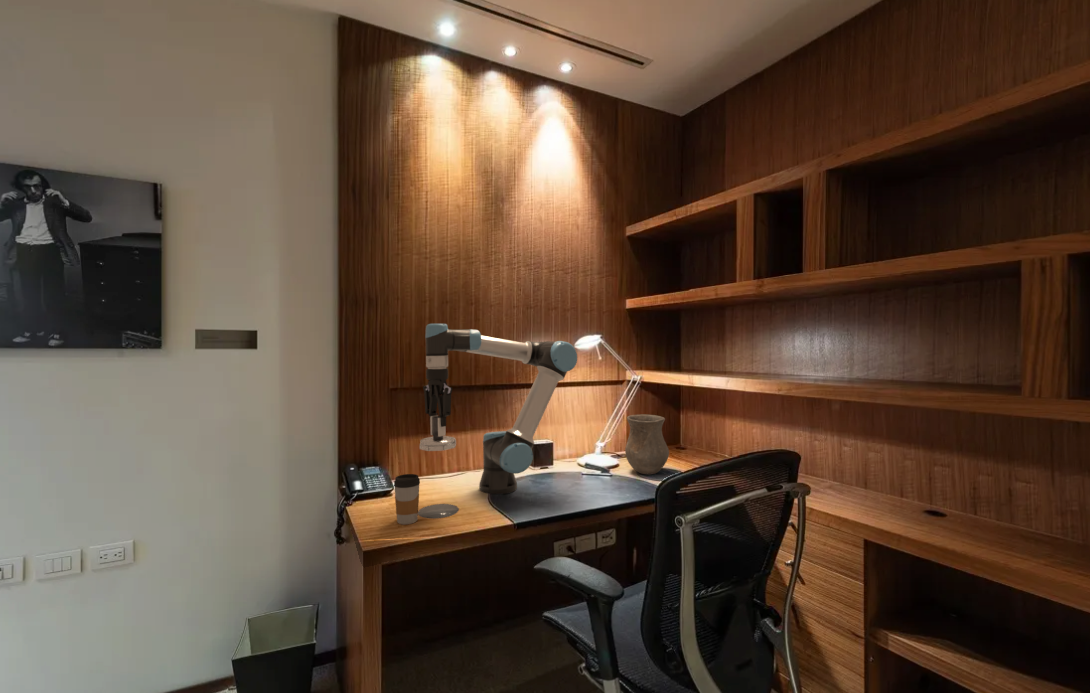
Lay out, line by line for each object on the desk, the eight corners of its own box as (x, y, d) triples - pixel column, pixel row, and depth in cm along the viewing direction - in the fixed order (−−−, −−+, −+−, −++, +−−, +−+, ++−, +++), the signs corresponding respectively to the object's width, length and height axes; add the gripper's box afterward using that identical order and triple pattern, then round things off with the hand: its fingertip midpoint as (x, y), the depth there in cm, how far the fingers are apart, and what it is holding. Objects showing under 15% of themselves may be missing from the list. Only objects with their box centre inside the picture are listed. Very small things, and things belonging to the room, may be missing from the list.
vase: (678, 475, 203) (677, 418, 203) (641, 481, 196) (641, 422, 195) (651, 464, 221) (650, 412, 221) (616, 469, 214) (616, 415, 214)
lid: (456, 442, 168) (456, 413, 168) (454, 450, 156) (453, 419, 156) (423, 443, 167) (422, 414, 166) (417, 451, 155) (417, 420, 155)
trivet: (460, 504, 169) (460, 502, 169) (457, 518, 155) (457, 517, 155) (421, 506, 168) (421, 504, 168) (414, 520, 154) (414, 519, 154)
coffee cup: (397, 518, 156) (396, 473, 156) (422, 517, 157) (422, 473, 157) (391, 527, 148) (390, 481, 148) (417, 526, 149) (417, 480, 149)
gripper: (413, 367, 163) (414, 434, 163) (443, 369, 153) (444, 439, 153) (431, 366, 169) (432, 430, 169) (461, 368, 159) (462, 436, 159)
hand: (438, 435), depth 161 cm, fingers closed on lid, 3 cm apart
